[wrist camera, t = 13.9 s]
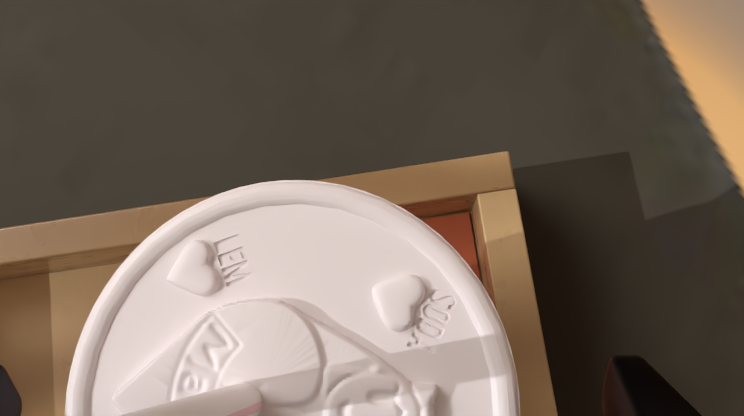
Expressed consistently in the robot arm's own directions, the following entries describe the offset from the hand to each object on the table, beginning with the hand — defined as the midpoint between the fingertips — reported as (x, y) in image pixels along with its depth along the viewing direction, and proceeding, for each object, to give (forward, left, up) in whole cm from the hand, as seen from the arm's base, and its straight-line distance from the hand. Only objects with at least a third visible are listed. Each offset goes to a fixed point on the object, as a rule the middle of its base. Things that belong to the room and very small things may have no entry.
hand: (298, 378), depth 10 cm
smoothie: (0, 0, -9) cm, 9 cm away
